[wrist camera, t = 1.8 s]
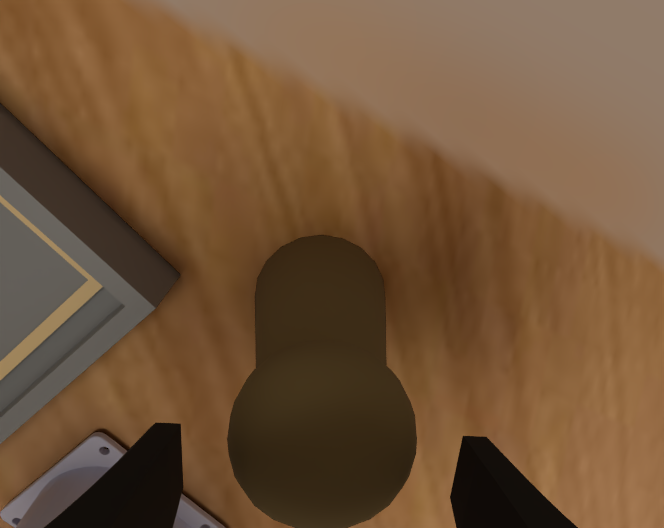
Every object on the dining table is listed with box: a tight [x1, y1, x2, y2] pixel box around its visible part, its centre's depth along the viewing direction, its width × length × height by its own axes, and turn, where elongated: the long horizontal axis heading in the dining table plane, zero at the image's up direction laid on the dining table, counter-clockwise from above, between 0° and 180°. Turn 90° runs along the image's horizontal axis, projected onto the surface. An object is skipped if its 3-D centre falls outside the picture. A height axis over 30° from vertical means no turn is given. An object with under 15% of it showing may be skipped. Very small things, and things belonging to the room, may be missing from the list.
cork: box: [227, 235, 417, 528], centre depth 17 cm, size 6×6×11 cm
